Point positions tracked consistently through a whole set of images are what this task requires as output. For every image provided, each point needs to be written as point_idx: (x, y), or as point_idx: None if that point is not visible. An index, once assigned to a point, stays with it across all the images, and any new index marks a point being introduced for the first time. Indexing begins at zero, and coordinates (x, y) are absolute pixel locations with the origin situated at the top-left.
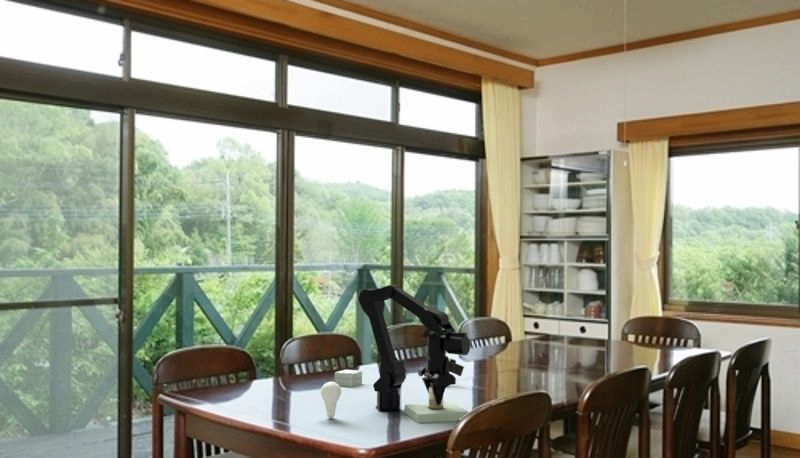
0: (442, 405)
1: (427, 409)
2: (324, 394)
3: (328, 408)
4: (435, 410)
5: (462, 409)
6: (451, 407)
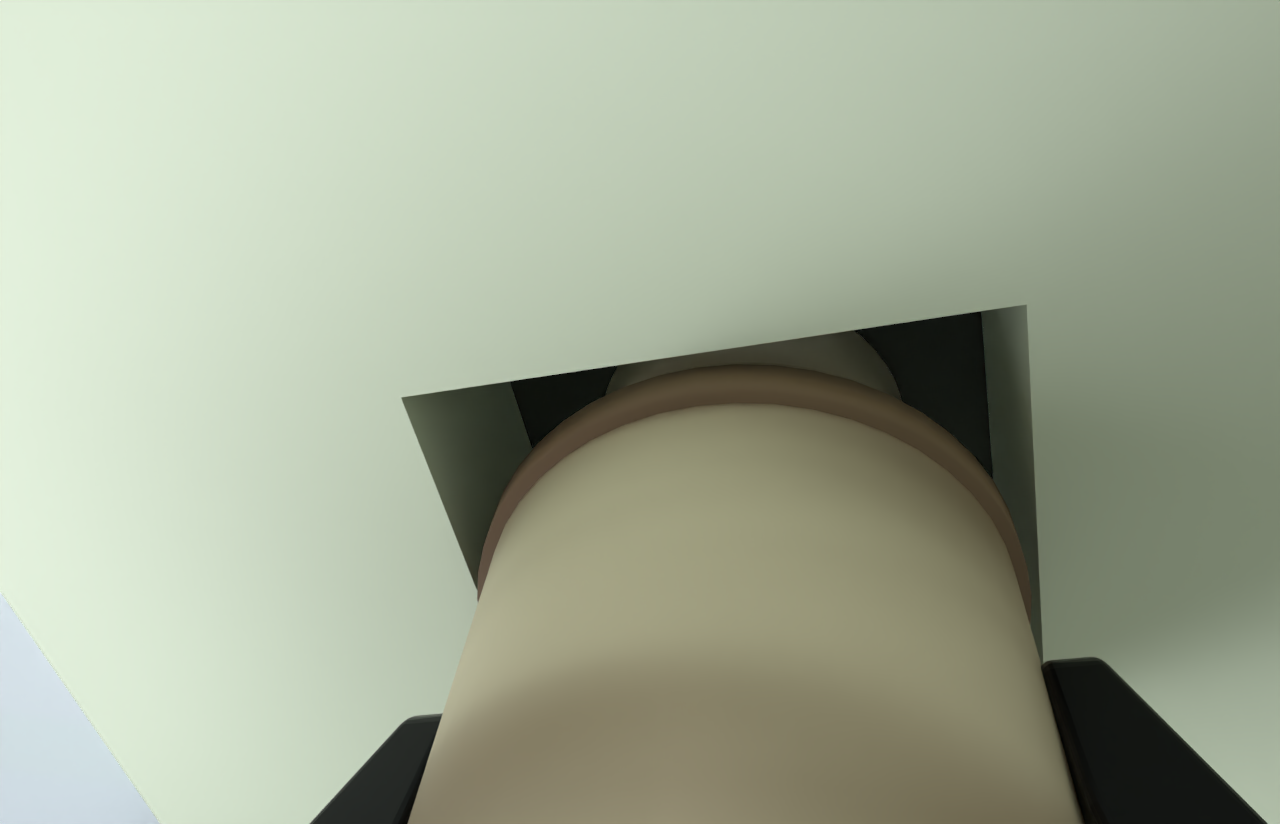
0: (925, 504)
1: None
2: None
3: None
4: (1134, 665)
5: None
6: (660, 4)
